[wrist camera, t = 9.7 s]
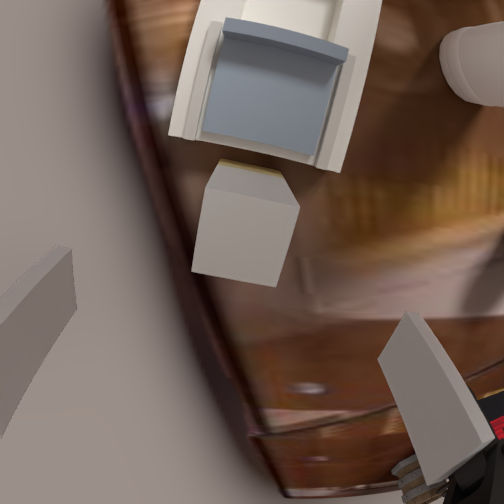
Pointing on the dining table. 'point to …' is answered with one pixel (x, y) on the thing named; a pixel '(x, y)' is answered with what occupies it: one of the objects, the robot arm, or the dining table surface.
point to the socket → (295, 19)
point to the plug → (245, 224)
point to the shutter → (272, 85)
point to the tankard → (415, 482)
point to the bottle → (475, 63)
